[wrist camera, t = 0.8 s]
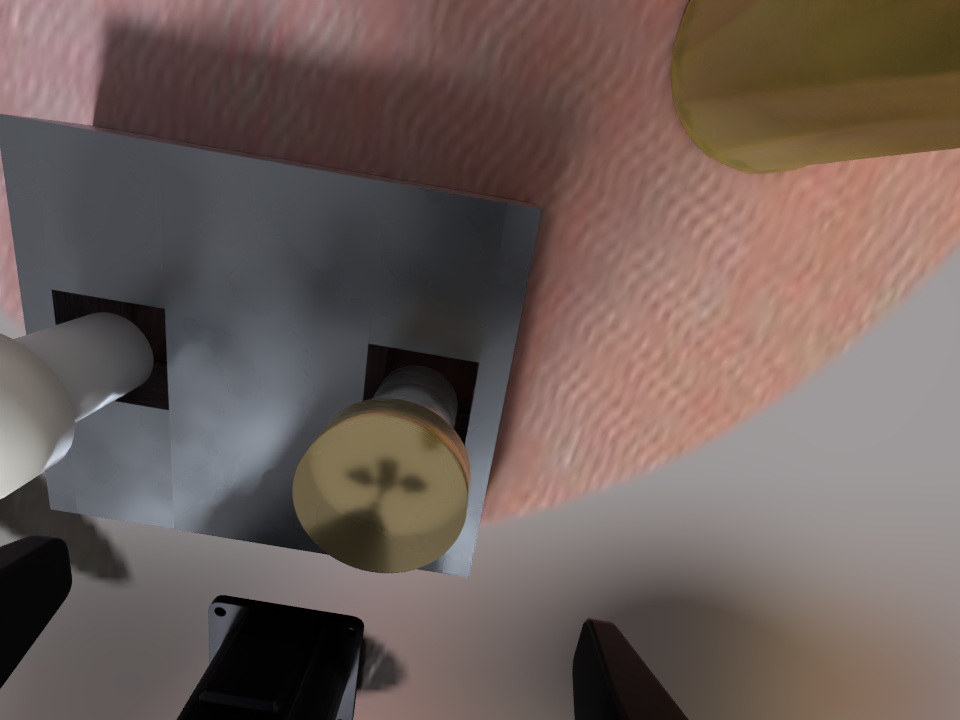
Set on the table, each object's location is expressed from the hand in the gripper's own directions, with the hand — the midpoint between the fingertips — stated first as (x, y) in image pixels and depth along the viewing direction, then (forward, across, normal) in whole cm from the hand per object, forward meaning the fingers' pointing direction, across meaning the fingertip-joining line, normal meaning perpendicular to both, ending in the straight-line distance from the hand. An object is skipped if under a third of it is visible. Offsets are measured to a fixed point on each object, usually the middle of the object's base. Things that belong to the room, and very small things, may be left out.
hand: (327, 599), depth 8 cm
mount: (+11, +4, 0) cm, 12 cm away
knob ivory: (+8, +9, 0) cm, 12 cm away
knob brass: (+8, 0, 0) cm, 8 cm away
